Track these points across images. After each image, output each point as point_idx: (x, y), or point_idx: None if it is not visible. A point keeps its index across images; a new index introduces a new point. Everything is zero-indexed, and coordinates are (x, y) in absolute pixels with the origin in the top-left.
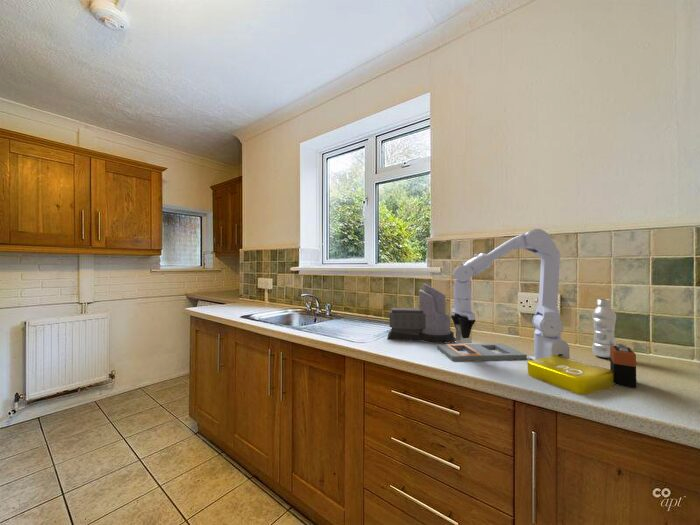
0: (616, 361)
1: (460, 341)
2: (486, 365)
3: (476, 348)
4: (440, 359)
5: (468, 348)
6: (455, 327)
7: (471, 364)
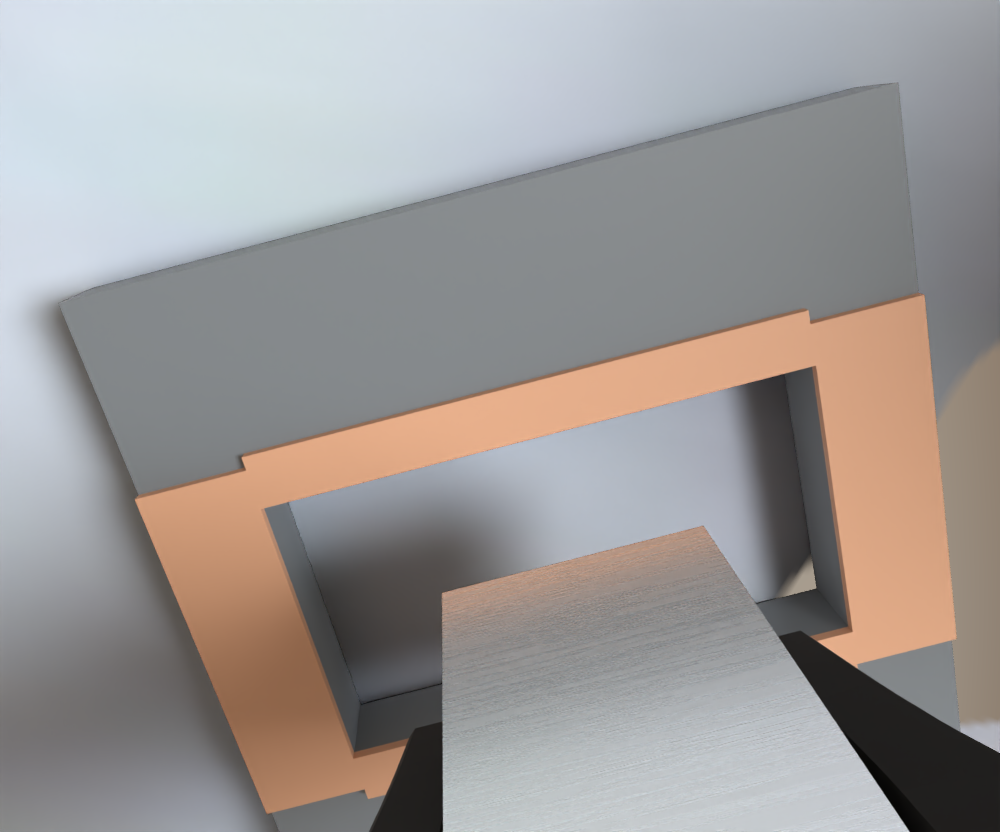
0: None
1: (455, 611)
2: (43, 759)
3: None
4: (120, 66)
5: None
6: (905, 726)
7: (12, 569)
